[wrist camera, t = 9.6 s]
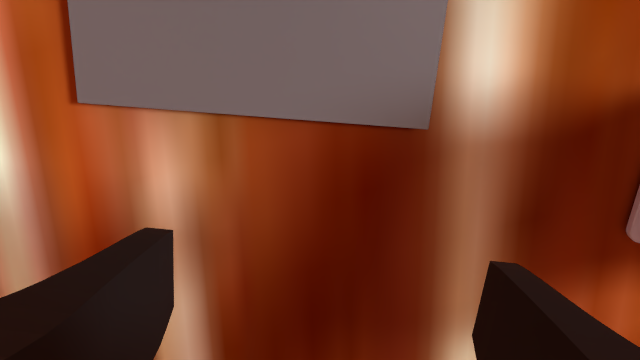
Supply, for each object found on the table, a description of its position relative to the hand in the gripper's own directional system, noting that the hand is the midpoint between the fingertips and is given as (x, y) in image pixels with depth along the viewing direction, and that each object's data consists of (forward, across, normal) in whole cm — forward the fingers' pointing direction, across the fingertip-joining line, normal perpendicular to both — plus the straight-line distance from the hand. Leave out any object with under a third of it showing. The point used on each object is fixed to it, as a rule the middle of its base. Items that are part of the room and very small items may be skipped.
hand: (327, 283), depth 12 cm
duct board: (+9, +3, -10) cm, 14 cm away
